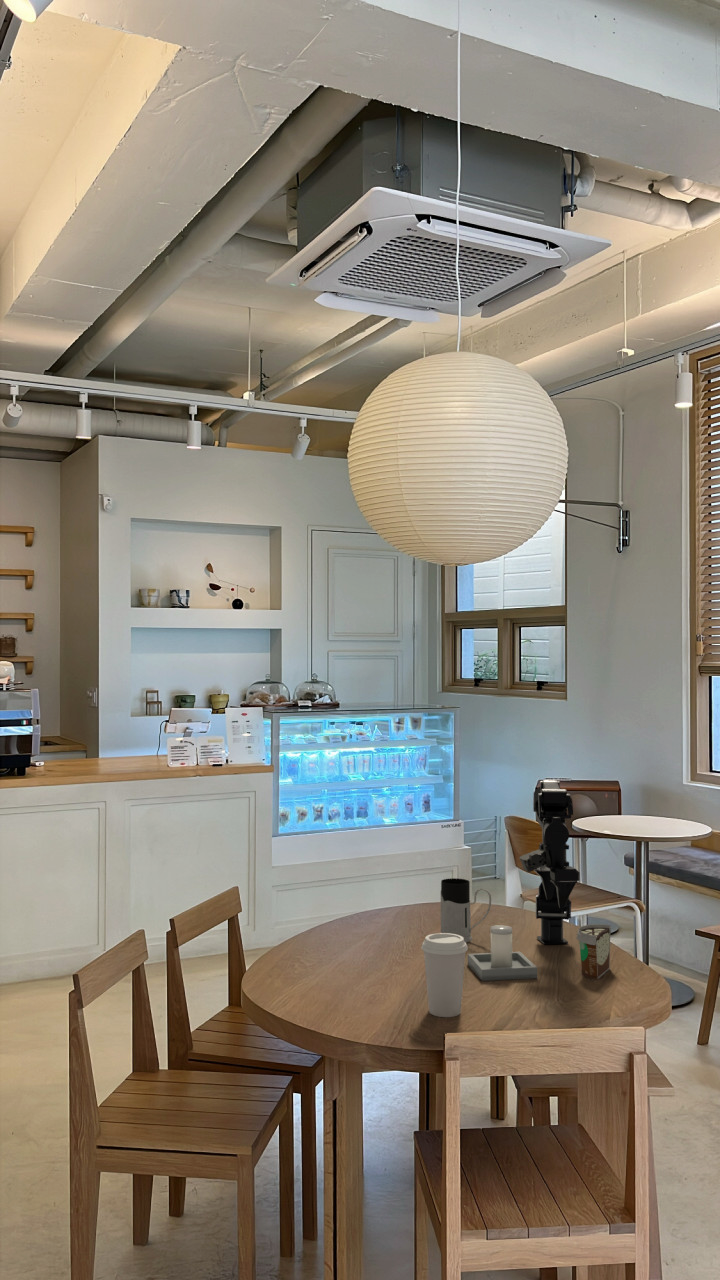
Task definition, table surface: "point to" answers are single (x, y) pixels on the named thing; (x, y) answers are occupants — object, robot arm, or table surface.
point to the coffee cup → (444, 972)
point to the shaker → (501, 946)
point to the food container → (594, 949)
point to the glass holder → (457, 907)
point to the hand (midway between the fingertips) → (555, 903)
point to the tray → (519, 969)
